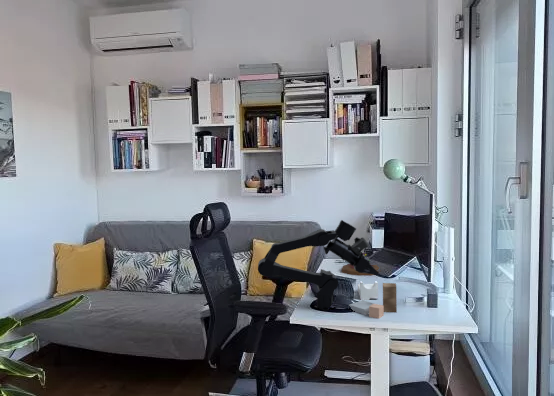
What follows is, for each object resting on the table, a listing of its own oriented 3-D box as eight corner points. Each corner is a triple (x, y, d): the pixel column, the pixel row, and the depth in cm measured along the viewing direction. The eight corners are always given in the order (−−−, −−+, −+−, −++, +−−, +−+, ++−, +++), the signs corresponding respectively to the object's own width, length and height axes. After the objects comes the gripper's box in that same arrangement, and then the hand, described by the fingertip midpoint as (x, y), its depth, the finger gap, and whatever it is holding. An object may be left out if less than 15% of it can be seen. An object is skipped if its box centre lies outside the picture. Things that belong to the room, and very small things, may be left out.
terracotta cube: (379, 318, 173) (379, 308, 173) (369, 316, 175) (369, 306, 175) (383, 315, 176) (383, 305, 176) (373, 313, 178) (373, 303, 178)
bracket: (378, 300, 195) (377, 282, 195) (360, 300, 196) (360, 282, 195) (374, 291, 208) (373, 275, 208) (358, 291, 209) (357, 275, 208)
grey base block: (364, 315, 178) (364, 309, 177) (349, 310, 184) (348, 304, 184) (378, 311, 183) (378, 304, 182) (362, 306, 189) (362, 300, 189)
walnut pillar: (383, 312, 180) (382, 286, 179) (383, 307, 185) (382, 283, 184) (396, 312, 179) (396, 286, 178) (396, 308, 184) (395, 283, 183)
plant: (336, 274, 241) (336, 253, 240) (346, 266, 259) (346, 246, 258) (375, 277, 233) (375, 255, 232) (383, 268, 251) (383, 248, 250)
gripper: (358, 237, 176) (392, 259, 176) (349, 229, 194) (381, 249, 195) (341, 261, 176) (376, 283, 177) (335, 252, 195) (366, 271, 196)
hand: (375, 271), depth 186 cm, fingers open, 9 cm apart
